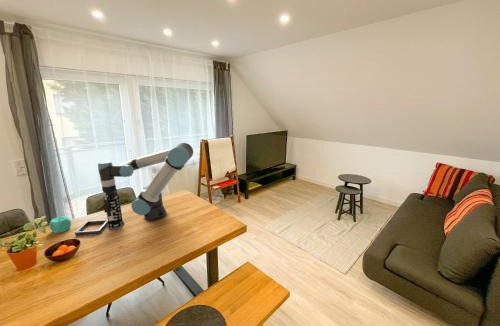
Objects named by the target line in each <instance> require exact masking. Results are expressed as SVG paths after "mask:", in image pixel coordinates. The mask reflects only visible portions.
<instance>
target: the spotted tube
mask: <svg viewBox="0 0 500 326" xmlns="http://www.w3.org/2000/svg"><path fill="white" fill-rule="evenodd" d="M120 200H121V199H120V196H119V194H118V195H116V196H114V197H113V199H112V200H111V199H109V204H111V211H112V213H113V218H114V220H110V221H109V219H108V214H107V212H105V213H106V216H107V217H106V218H107V219H108V225H109V227H110V228H117V227H119V226H121V225H122V224H123V215H122V214H123V213H122V206H121V201H120Z"/></svg>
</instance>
